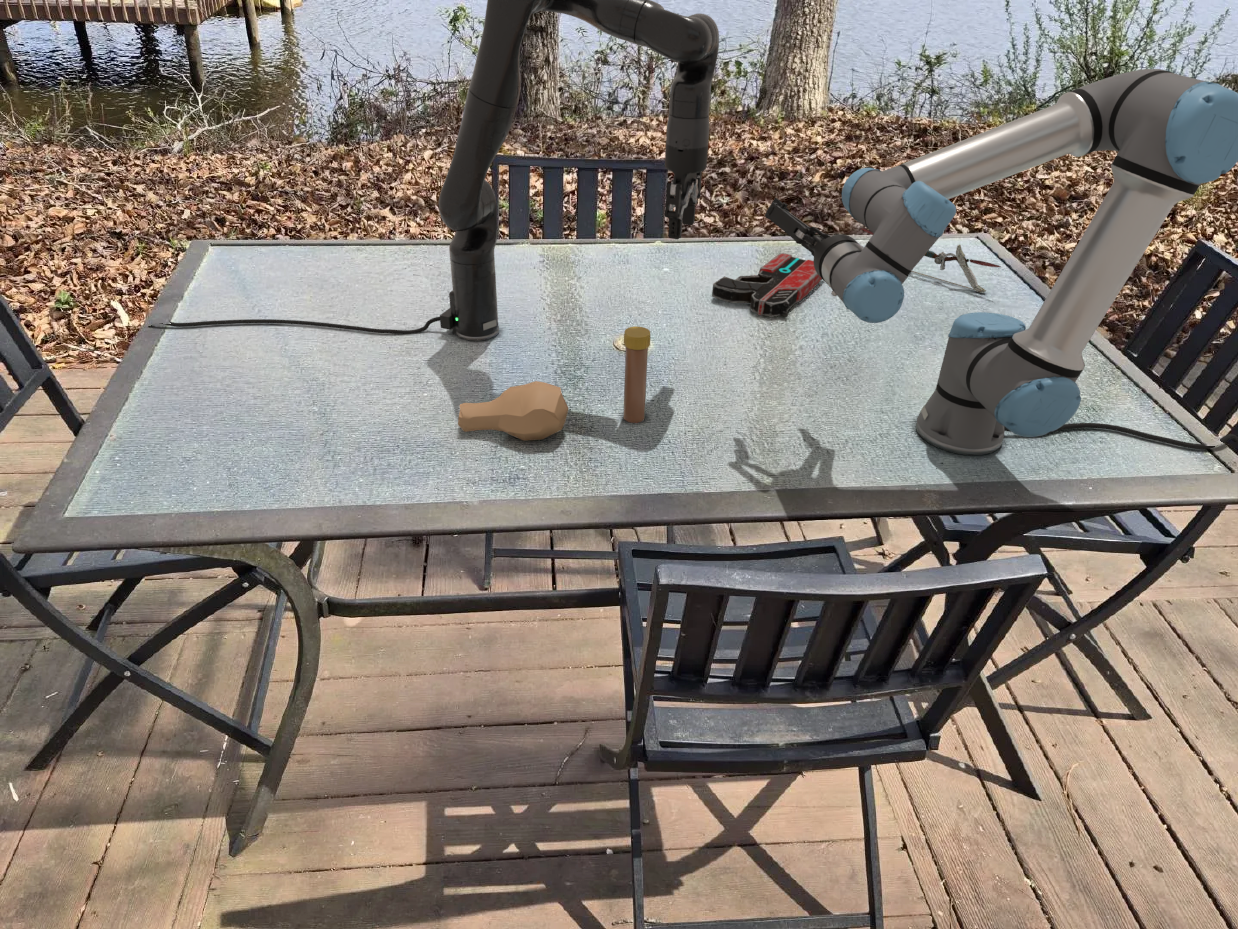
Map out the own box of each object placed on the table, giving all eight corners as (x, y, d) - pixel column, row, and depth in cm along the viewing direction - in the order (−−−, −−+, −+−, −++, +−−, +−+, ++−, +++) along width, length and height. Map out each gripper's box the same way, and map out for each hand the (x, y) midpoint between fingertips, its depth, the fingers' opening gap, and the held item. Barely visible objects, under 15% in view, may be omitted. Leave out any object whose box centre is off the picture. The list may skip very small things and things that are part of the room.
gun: (708, 284, 207) (784, 305, 199) (760, 245, 229) (831, 262, 221) (706, 302, 209) (781, 323, 201) (758, 261, 231) (828, 278, 223)
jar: (641, 424, 162) (645, 340, 152) (620, 420, 163) (623, 337, 153) (647, 414, 165) (651, 331, 156) (626, 410, 166) (629, 327, 157)
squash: (570, 447, 155) (562, 408, 149) (459, 455, 156) (447, 417, 150) (573, 407, 163) (565, 369, 157) (467, 416, 164) (456, 378, 158)
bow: (994, 294, 218) (1005, 255, 212) (991, 296, 216) (1002, 257, 211) (857, 254, 239) (863, 218, 233) (853, 256, 238) (860, 219, 232)
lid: (646, 351, 153) (646, 339, 152) (620, 347, 154) (621, 335, 153) (652, 340, 157) (653, 328, 156) (627, 337, 158) (628, 324, 157)
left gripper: (679, 130, 161) (673, 217, 170) (654, 148, 150) (649, 240, 159) (718, 134, 159) (711, 222, 168) (695, 153, 148) (689, 246, 157)
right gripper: (765, 248, 132) (733, 208, 150) (889, 320, 141) (845, 274, 159) (794, 204, 129) (758, 169, 147) (919, 280, 138) (871, 238, 156)
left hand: (681, 231), depth 164 cm, fingers open, 8 cm apart
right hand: (803, 223), depth 153 cm, fingers open, 13 cm apart
